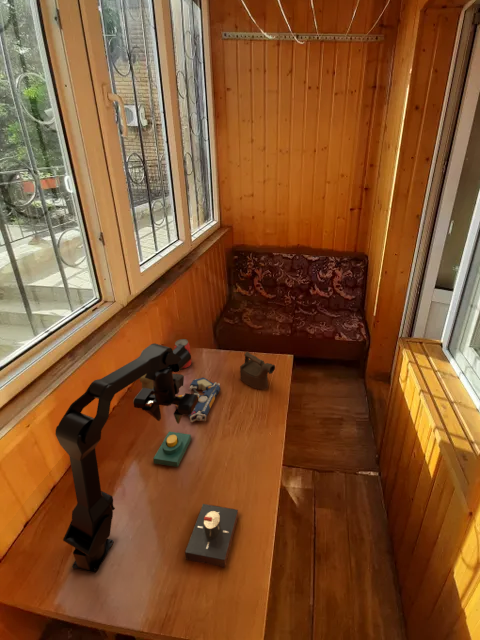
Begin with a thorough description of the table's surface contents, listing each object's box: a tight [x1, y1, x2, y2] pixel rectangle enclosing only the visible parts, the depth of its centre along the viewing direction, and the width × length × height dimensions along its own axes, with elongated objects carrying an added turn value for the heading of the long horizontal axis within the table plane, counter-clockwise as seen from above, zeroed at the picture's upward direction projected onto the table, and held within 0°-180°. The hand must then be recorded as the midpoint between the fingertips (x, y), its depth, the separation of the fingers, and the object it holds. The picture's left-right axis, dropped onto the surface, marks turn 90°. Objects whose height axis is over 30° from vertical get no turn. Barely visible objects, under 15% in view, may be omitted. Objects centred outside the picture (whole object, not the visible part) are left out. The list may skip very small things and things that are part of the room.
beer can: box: [173, 338, 192, 369], centre depth 141 cm, size 7×7×12 cm
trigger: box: [167, 435, 177, 447], centre depth 102 cm, size 3×3×2 cm
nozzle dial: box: [204, 511, 221, 539], centre depth 79 cm, size 4×4×4 cm
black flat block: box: [184, 503, 239, 568], centre depth 80 cm, size 11×10×3 cm
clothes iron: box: [239, 351, 276, 390], centre depth 131 cm, size 8×16×13 cm, turn 48°
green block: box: [153, 430, 192, 468], centre depth 102 cm, size 10×8×4 cm
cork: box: [139, 374, 155, 395], centre depth 124 cm, size 6×6×11 cm
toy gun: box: [175, 376, 221, 423], centre depth 122 cm, size 21×4×15 cm
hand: (169, 421), depth 99 cm, fingers open, 6 cm apart
